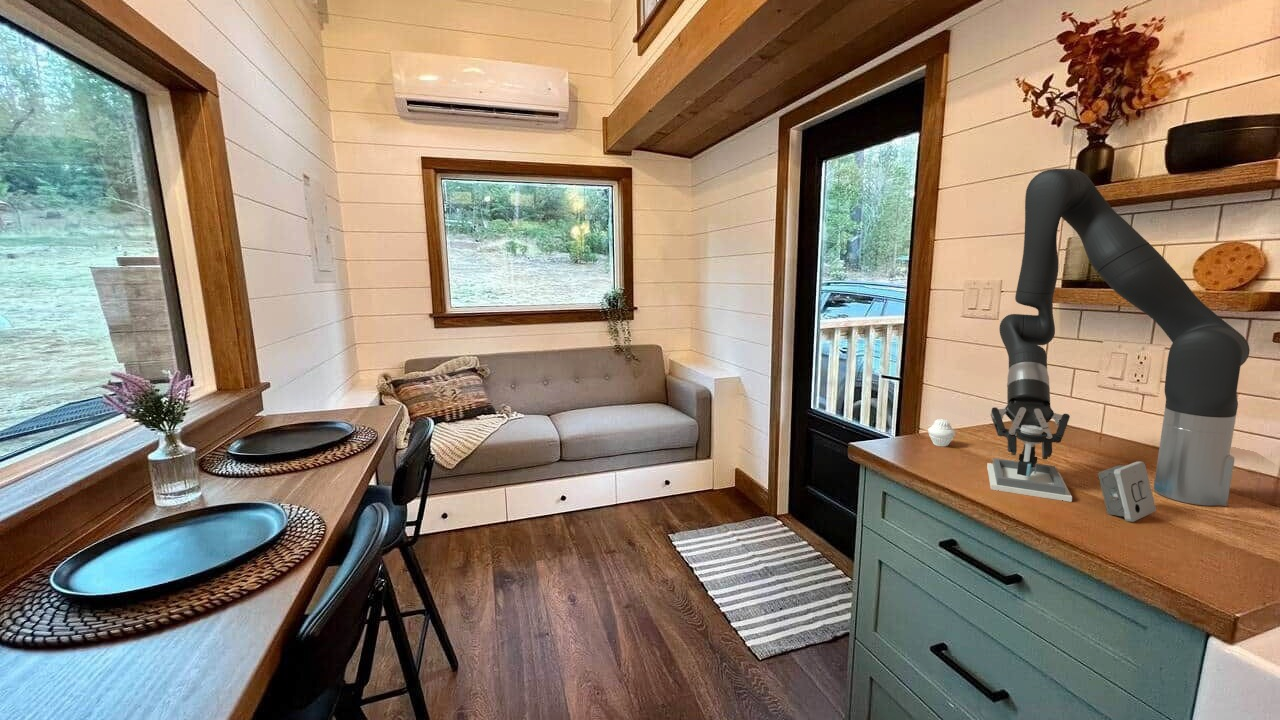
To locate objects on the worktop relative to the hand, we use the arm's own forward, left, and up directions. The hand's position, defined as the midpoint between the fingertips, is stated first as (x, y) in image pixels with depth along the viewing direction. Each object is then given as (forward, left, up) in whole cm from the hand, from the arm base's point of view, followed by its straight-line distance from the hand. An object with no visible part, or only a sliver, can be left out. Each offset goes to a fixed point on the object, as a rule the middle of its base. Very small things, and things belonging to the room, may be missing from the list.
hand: (1029, 455), depth 106 cm
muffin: (+16, -22, -7) cm, 28 cm away
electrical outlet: (-14, +6, -7) cm, 17 cm away
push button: (0, -2, -5) cm, 5 cm away
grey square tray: (0, -2, -7) cm, 7 cm away
